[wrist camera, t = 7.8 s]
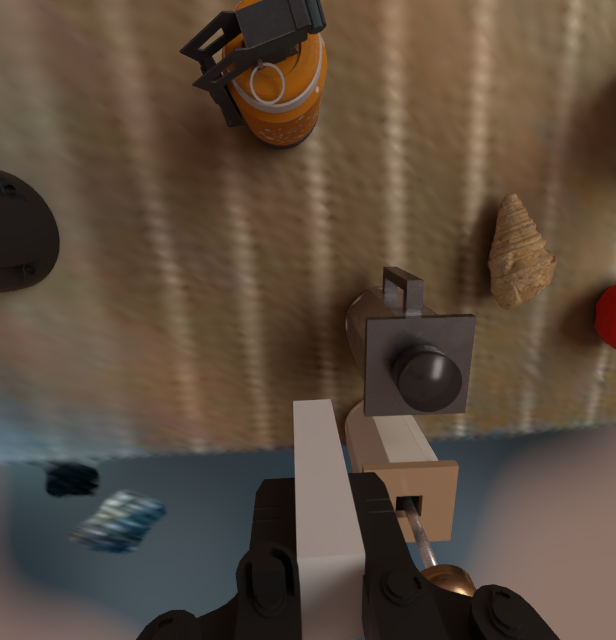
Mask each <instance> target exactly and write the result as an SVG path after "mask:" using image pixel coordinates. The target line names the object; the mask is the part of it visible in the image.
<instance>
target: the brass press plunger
mask: <svg viewBox="0 0 616 640" xmlns="http://www.w3.org/2000/svg"><path fill="white" fill-rule="evenodd" d="M417 500H419V496H396V507H402V506H403V508H404V510H405V513H406V516H407V519H408V521H409V524H410V527H411V530H412V532H413V535H414V538H415V540H416V543H417V546H418V549H419V551H420V554H421V557H422V560H423V562H424V565H425V568H426V569H425V570H423V571H421V572H420V573H421V574H422V575H423V576H424V577H425V578H426V579H427V580H429V581H430V582H432V583H433V584H435V585H436V586H438V587H441V588H443V589H446V590H449V591H453V592H456V593H460V594H464V595H468V596H471V597H473V595H474V592H475V591H476V588H475V586H474V584H473V582H472V580H471V578H470V576H469V574H468V573H467V572H466V571H465V570H463V569H462V568H460V567H457V566H454V565H448V564H442V565H438V564H437V561H436V559H435V556H434V554H433V551H432V549H431V546H430V544H429V541H428V539H427V536H426V534H425V531H424V529H423V526H422V524H421V521H420V519H419V516H418V514H417V511H416V509H415V507H414V504H413V503H414V502H416V501H417Z"/></svg>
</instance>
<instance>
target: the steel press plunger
mask: <svg viewBox="0 0 616 640" xmlns="http://www.w3.org/2000/svg"><path fill="white" fill-rule="evenodd" d="M393 381H394V384H395V386H396V387H397V389H398V391H399V393H400V394H401V396H402V398H403V399H404V401H405V402H406V403H407V405H409V406H410V407H411V408H413V409H415V410H417V411H421V412H435V411H438V410H441V409H443V408H445V407H447V406H449V405H450V404H451V403H452V402H453V401H454V400H455V399H456V398H457V396H458V395H459V393H460V390H461V387H462V375H461V371H460V369H459V368H458V366H457V365H456V364H455V363H454V362H453V361H452V360H451V359H450V358H449V357H448V356H447V355H445V354H444V353H443V352H442V351H441V350H439V349H438V348H436V347H433V346H428V345H420V346H415V347H412V348H410V349H408V350H407V351H405V352H404V353H403V354H402V355H401V356H400V357H399V358H398V359H397V361H396V363H395V365H394V368H393Z"/></svg>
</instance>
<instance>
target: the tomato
mask: <svg viewBox="0 0 616 640" xmlns="http://www.w3.org/2000/svg"><path fill="white" fill-rule="evenodd" d="M596 316H597V317H596V320H595V328H596V330H597V332H598V334H599V336H600V337H601V338H602V340H604V341H605V342H606V343H607V344H609V345H610V346H611V347H613V348H614V349H616V285H614V286H611V287H610V288H609V289H607V291H606V292H605V293H604V294H603V295H602V296H601V297H600V299H599V301H598V302H597V304H596Z"/></svg>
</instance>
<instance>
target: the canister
mask: <svg viewBox="0 0 616 640" xmlns="http://www.w3.org/2000/svg"><path fill="white" fill-rule="evenodd" d="M325 27H326V21H325V17H324V14H323V10H322V6H321V3H320V0H242V1H241V2H240V3H239V4H238V5H237V6H236V7H235V8H234V10H233V11H222V12H221V13H220V14H219V15H218V16H216V17H215V18H214V19H213V20H212V21H211V22H210V23H209V24H208V25H207V26H206V27H205V28H204V29H203V30H201V31H200V32H199V33H198V34H197V35H196V36H195V37H194V38H193V39H192V40H191V41H190V42H189V43H188V44H186V45H185V46H184V47H183V48H182V49H181V50H180V51H179V52H180V53H182V54H184V55H186V56H188V57H190V58H192V59H194V60H196V61H198V62H199V63H200V65H201V67H200V68H201V71H202V73H203V76H201V77H200V78H199V79H198V80H196V81H195V82H194V83H193V84H192V86H195V87H198V88H200V89H203V90H206V91H209V92H210V95H211V97H212V99H213V100H214V101H215V103H216V104H218V105H219V106H220V108H221V110H222V112H223V115H224V118H225V120H226V123H227V126H228V127H233V126H239V125H244V122H243V119H242V117H241V114H242V116H243V117H244V119H245V121H246V123H247V125H248V127H249V128H250V130H251V132H252V133H253V134H254V135H255V137H257V138H258V139H259V140H260V141H261V142H263V143H264V144H266V145H268V146H271V147H274V148H282V149H283V148H290V147H293V146H296V145H298V144H300V143H301V142H303V141H304V140H305V139H306V138H307V137H308V136H309V135H310V133H311V132H312V130H313V128H314V127H315V124H316V121H317V118H318V113H319V108H320V103H321V98H322V93H323V88H324V83H325V78H326V72H327V55H326V50H325V45H324V42H323V39H322V36H321V34H320V32H321V31H322V30H323V29H324V28H325ZM220 28H222V30H223V32H224V34H223V35H222V36H220V37H219V38H218V39H216V40H215V41H214V42H212V43H211V44H210V45H209V46H207V47H206V48H205V49H198V48H199V47H201V46H202V45H203V44H204V43H205V42H206V41H207V40H208V39H209V38H210V37H211V36H212V35H214V34H215V33H216V32H217V31H218V30H219V29H220ZM221 48H223V49H222V60H221V61H220V62H219V63H217V64H216V63H215V61H214V59H213V57H212V55H214V54H215V53H216V52H218V51H219V50H220V49H221ZM222 71H223V75H224V76H222V74H221V72H222ZM239 110H240V111H239ZM240 112H241V114H240Z"/></svg>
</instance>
